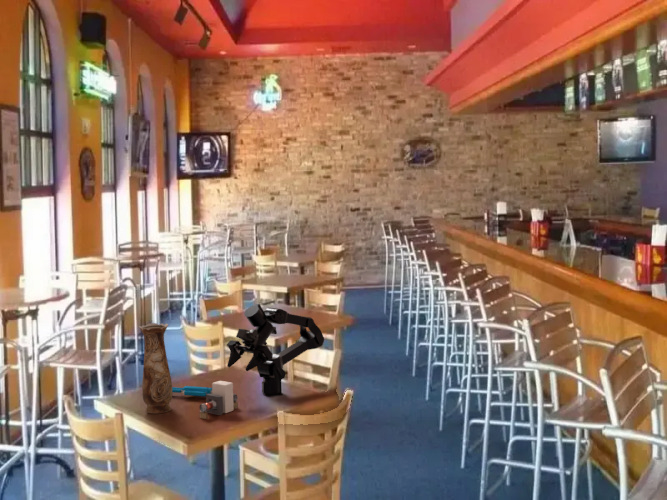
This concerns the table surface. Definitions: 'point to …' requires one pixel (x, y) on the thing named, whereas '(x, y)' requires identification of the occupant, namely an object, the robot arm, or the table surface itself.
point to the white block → (224, 394)
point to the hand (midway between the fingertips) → (237, 368)
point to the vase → (156, 370)
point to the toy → (193, 390)
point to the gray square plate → (218, 401)
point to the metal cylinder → (213, 407)
